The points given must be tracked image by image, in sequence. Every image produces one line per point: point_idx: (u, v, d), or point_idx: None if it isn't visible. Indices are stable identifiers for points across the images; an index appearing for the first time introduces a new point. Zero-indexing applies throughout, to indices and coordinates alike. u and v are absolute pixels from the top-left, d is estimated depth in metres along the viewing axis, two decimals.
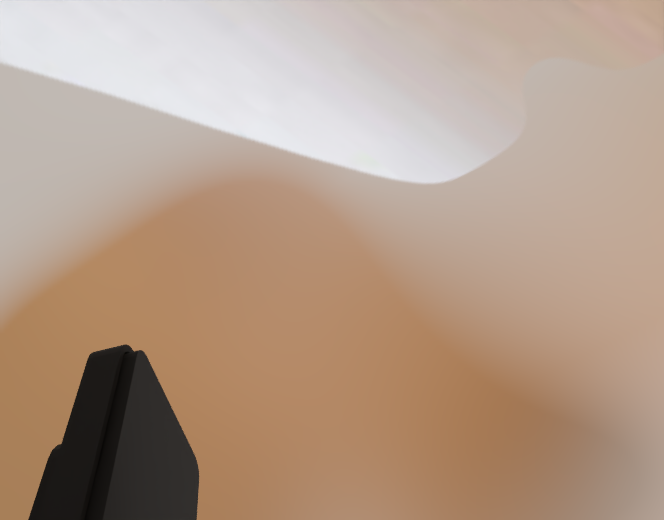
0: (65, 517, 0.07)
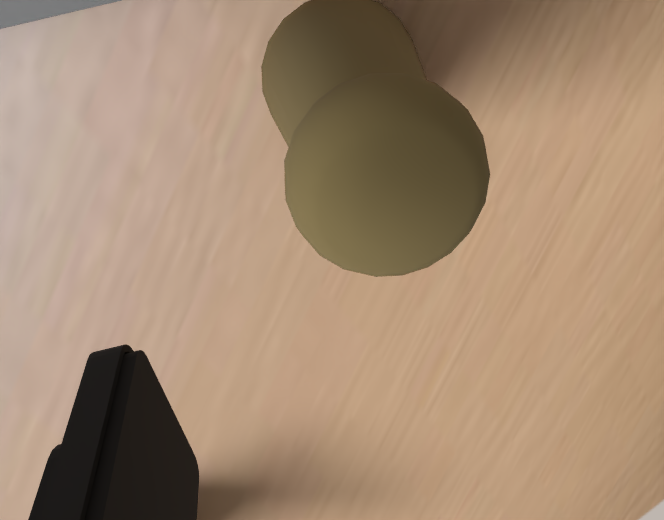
0: (65, 517, 0.07)
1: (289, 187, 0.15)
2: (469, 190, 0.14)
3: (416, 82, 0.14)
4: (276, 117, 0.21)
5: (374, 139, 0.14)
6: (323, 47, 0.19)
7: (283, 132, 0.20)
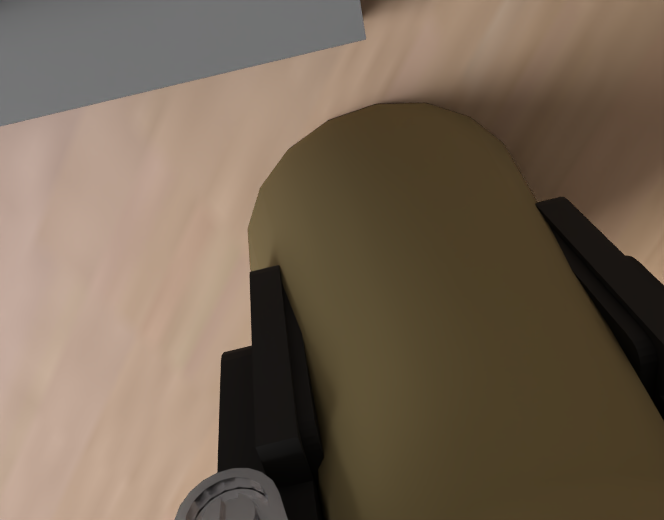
0: (279, 388, 0.08)
1: None
2: None
3: None
4: None
5: None
6: (388, 273, 0.08)
7: None
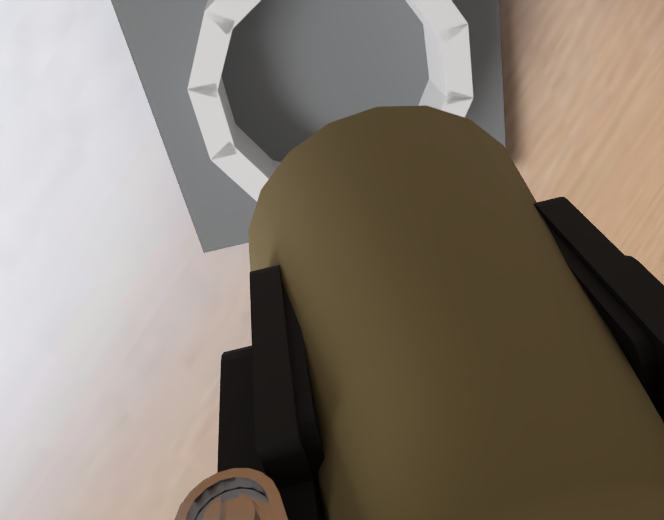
0: (279, 388, 0.08)
1: None
2: None
3: None
4: None
5: None
6: (390, 277, 0.08)
7: None
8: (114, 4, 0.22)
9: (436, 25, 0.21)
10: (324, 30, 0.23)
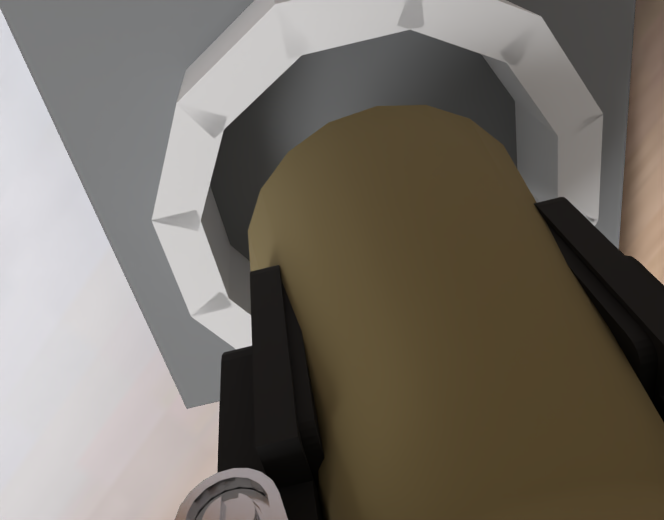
0: (279, 388, 0.08)
1: None
2: None
3: None
4: None
5: None
6: (390, 276, 0.08)
7: None
8: (37, 80, 0.14)
9: (553, 117, 0.13)
10: None
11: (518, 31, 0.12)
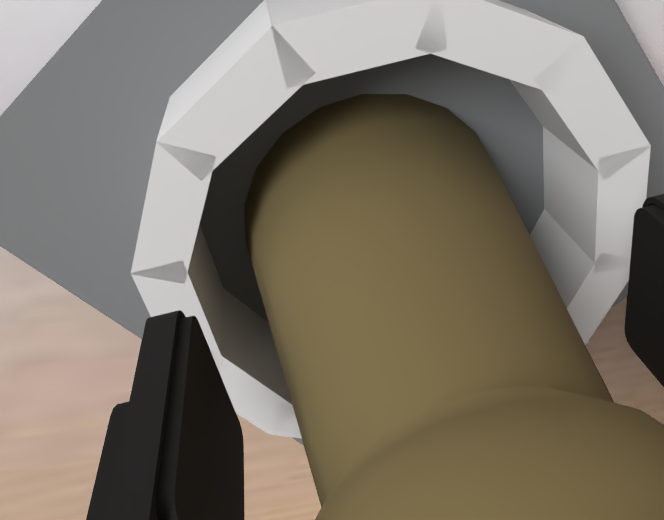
0: (143, 459, 0.07)
1: None
2: None
3: None
4: (269, 322, 0.12)
5: None
6: (366, 235, 0.09)
7: None
8: None
9: None
10: None
11: (623, 254, 0.13)
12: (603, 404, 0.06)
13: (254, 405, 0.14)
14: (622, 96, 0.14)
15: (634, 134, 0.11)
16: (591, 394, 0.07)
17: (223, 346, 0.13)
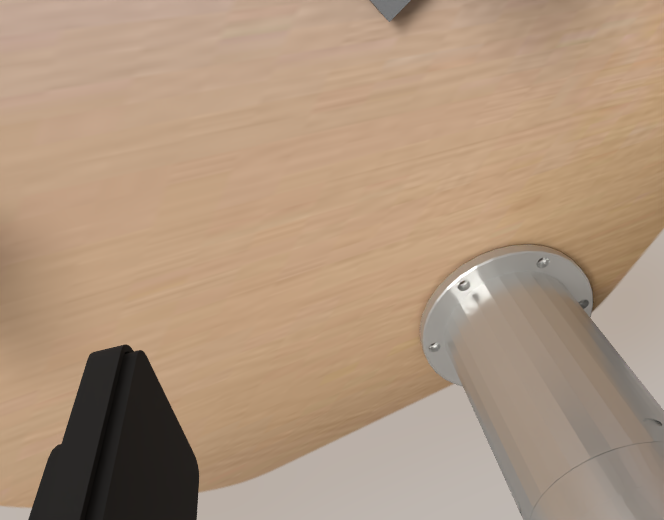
0: (65, 517, 0.07)
1: None
2: None
3: None
4: None
5: None
6: None
7: None
8: None
9: None
10: None
11: None
12: None
13: None
14: None
15: None
16: None
17: None
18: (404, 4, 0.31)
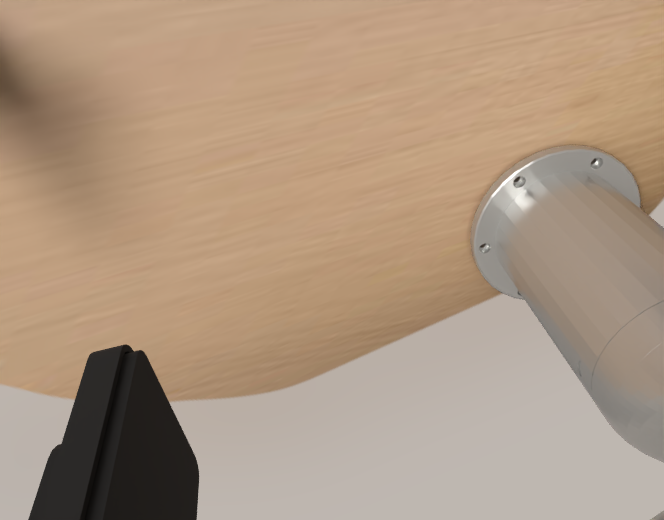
0: (65, 517, 0.07)
1: None
2: None
3: None
4: None
5: None
6: None
7: None
8: None
9: None
10: None
11: None
12: None
13: None
14: None
15: None
16: None
17: None
18: None
